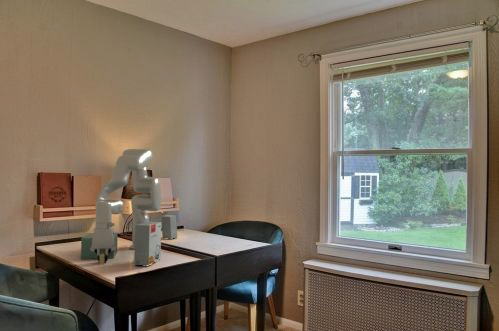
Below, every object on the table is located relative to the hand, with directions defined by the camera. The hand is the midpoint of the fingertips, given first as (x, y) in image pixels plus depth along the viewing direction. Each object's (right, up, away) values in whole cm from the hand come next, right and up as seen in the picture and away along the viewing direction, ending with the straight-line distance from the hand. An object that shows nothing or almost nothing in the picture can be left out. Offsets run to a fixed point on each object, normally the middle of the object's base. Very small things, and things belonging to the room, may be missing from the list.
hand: (102, 262), depth 198 cm
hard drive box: (+22, -1, +1) cm, 22 cm away
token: (0, 0, 0) cm, 0 cm away
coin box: (-7, 0, +16) cm, 17 cm away
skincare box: (+19, -2, +71) cm, 74 cm away
